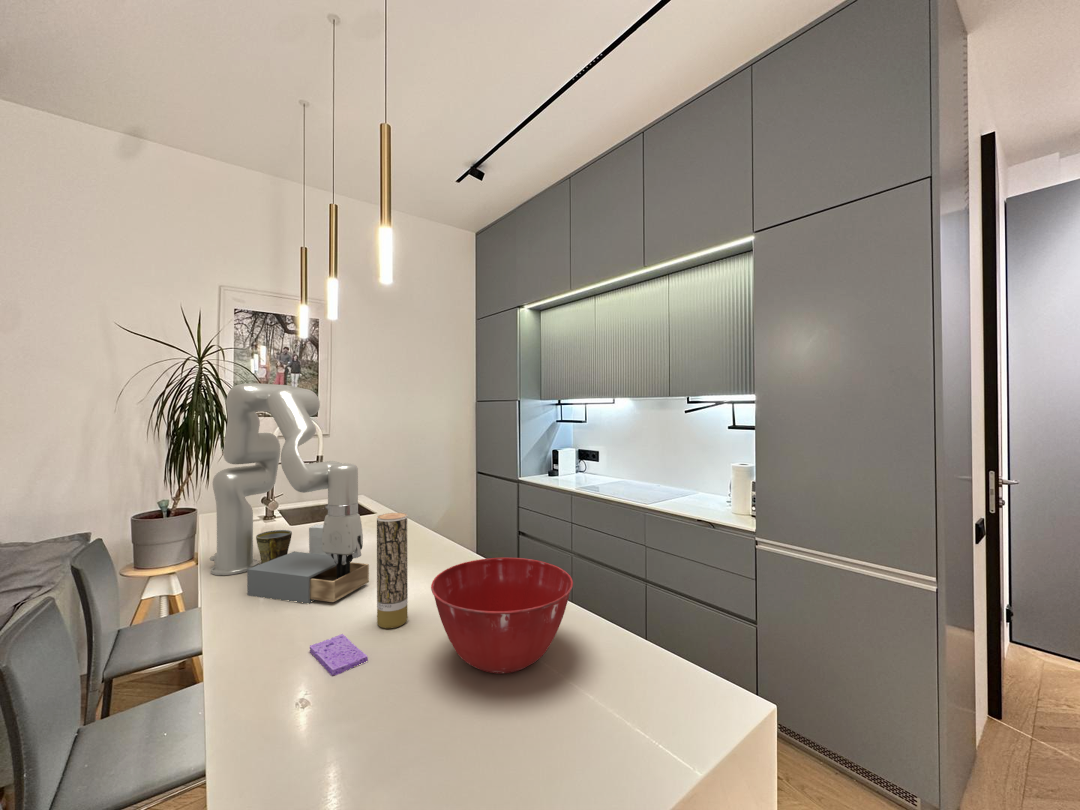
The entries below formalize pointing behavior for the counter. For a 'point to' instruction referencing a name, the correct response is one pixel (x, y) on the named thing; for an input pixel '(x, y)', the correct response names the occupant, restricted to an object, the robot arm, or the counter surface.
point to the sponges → (337, 654)
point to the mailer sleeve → (287, 576)
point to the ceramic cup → (273, 544)
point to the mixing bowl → (501, 610)
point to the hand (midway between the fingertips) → (343, 577)
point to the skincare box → (316, 539)
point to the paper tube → (392, 570)
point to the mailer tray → (338, 582)
